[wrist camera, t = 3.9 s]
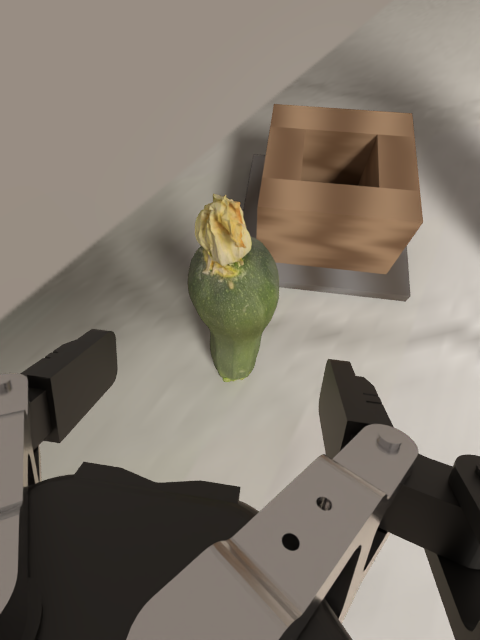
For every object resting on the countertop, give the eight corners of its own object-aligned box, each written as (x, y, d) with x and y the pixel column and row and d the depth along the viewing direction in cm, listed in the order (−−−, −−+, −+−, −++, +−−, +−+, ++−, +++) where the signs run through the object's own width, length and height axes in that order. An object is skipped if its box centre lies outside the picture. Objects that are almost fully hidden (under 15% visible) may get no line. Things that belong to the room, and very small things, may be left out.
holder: (397, 173, 37) (433, 100, 29) (405, 301, 30) (455, 247, 23) (253, 161, 38) (254, 88, 31) (232, 281, 31) (226, 225, 24)
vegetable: (216, 340, 29) (162, 123, 11) (266, 341, 29) (295, 122, 11) (213, 390, 27) (142, 231, 9) (266, 391, 27) (302, 232, 9)
